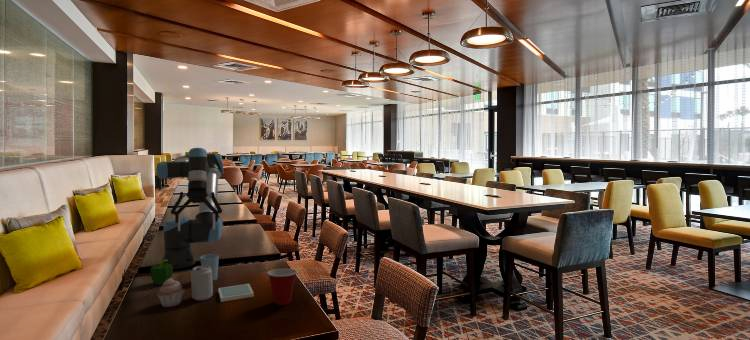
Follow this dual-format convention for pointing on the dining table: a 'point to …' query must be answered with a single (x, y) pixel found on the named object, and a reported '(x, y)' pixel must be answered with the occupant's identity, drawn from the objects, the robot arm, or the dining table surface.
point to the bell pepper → (161, 272)
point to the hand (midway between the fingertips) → (196, 229)
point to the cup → (211, 263)
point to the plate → (235, 292)
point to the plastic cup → (282, 285)
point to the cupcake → (170, 293)
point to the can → (201, 283)
